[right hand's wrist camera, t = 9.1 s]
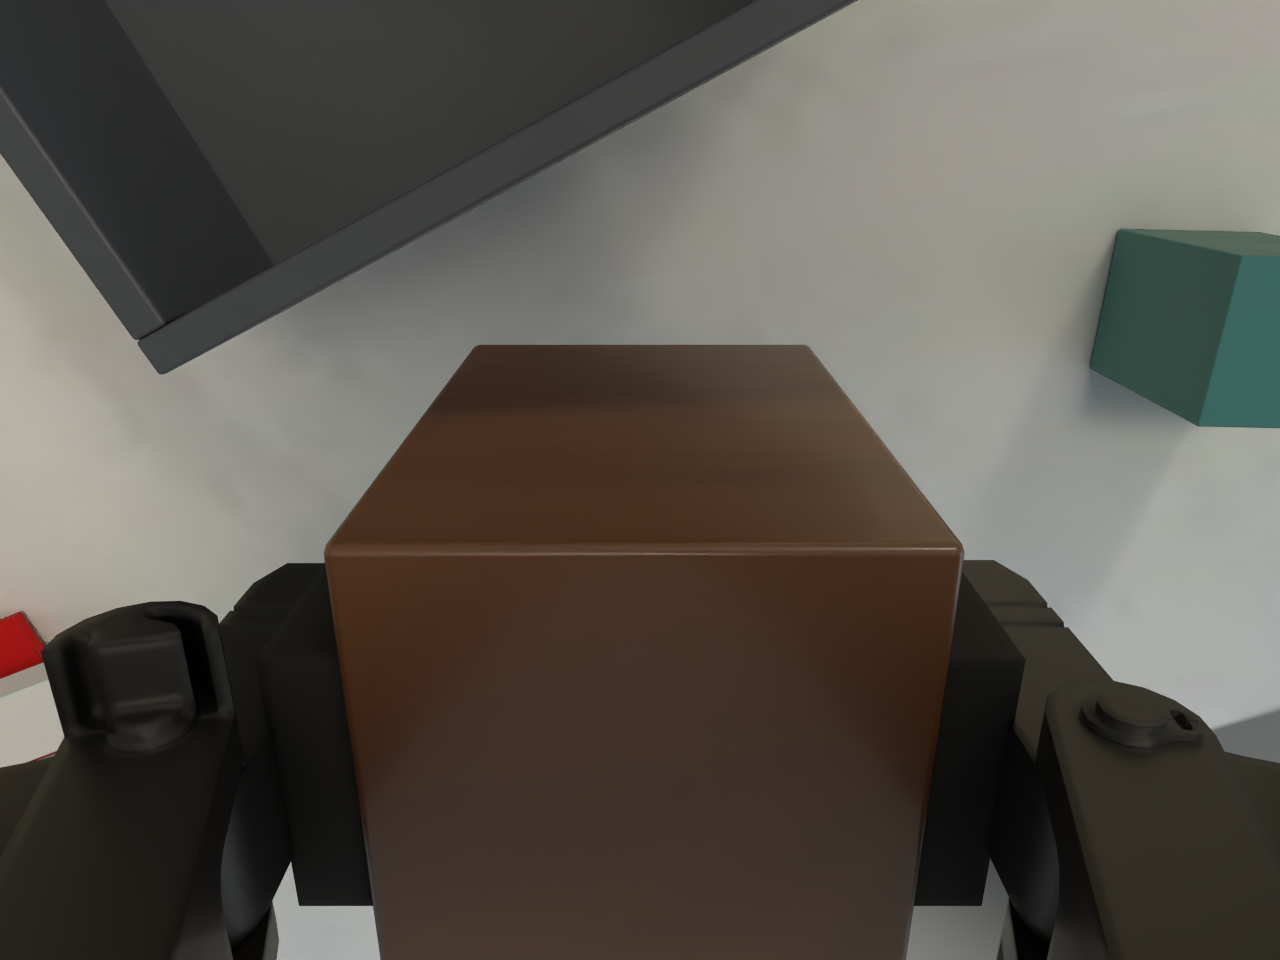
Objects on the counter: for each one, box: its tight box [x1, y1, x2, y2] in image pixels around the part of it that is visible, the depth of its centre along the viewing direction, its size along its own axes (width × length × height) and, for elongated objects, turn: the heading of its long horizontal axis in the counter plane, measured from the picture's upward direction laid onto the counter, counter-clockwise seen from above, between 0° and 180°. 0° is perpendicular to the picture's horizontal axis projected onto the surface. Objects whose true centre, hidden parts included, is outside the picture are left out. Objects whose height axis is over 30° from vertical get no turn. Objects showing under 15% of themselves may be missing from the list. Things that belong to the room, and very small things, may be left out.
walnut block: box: [324, 345, 965, 960], centre depth 11 cm, size 5×5×7 cm
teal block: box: [1090, 229, 1280, 428], centre depth 29 cm, size 5×5×7 cm
